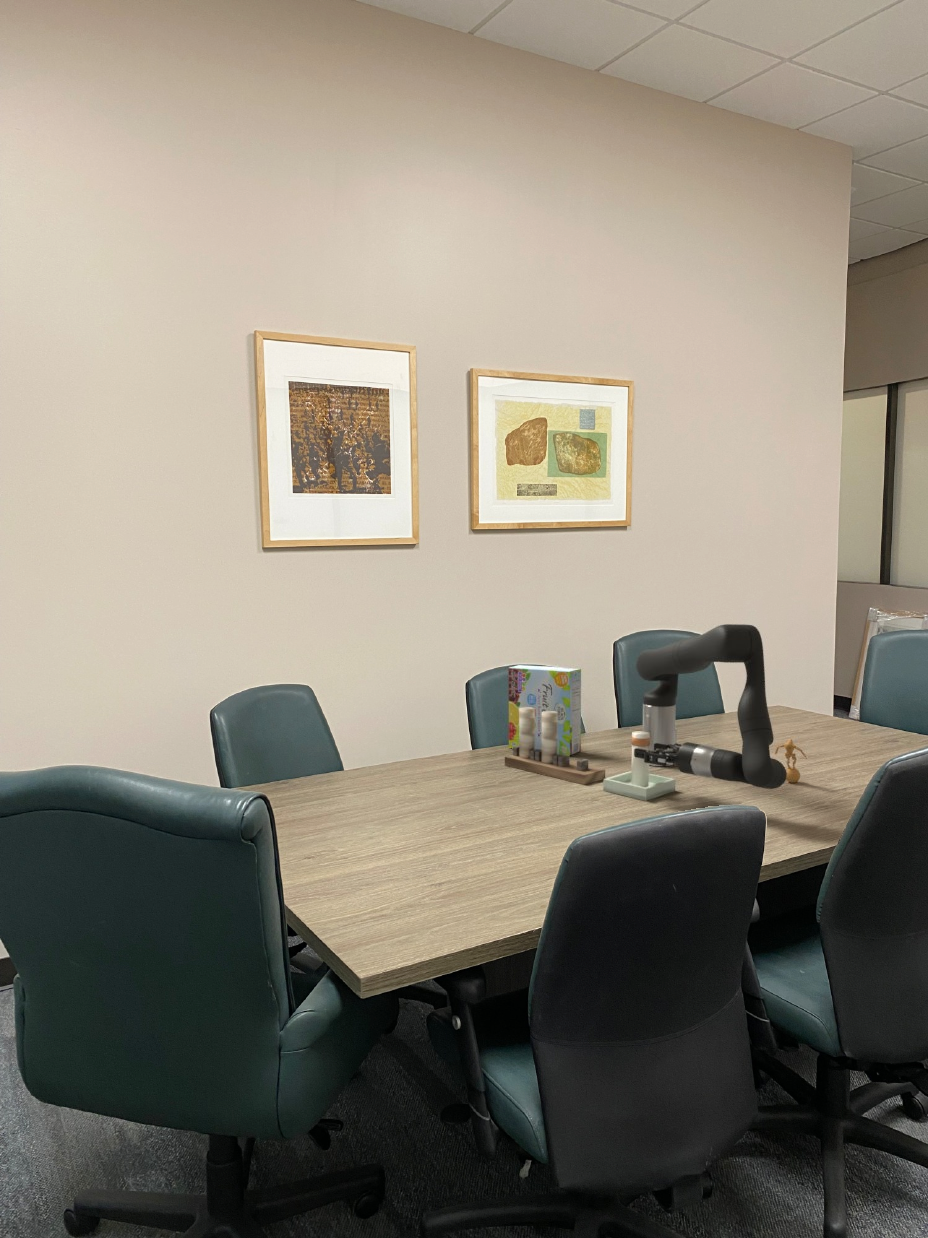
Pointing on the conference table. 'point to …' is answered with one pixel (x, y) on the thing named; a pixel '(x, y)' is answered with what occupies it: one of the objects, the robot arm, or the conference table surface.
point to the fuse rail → (557, 770)
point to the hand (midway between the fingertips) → (644, 749)
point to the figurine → (793, 773)
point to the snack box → (547, 703)
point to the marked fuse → (640, 759)
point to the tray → (624, 787)
